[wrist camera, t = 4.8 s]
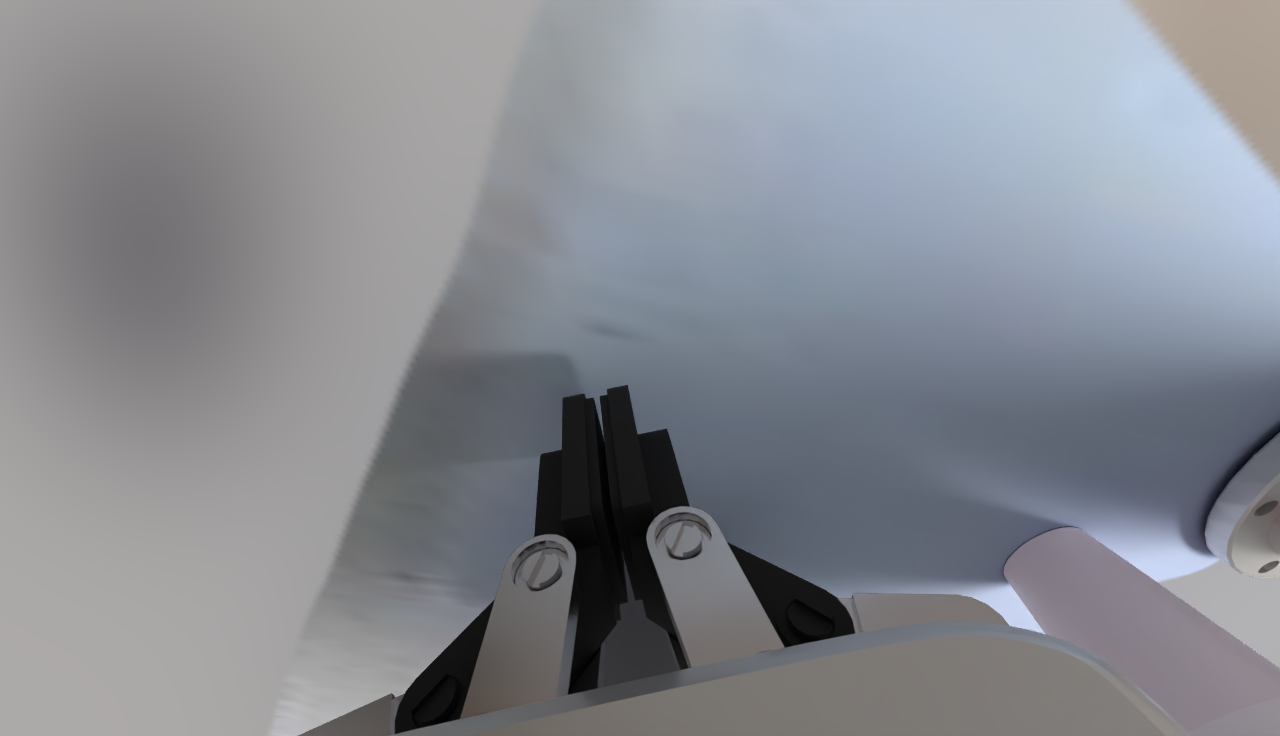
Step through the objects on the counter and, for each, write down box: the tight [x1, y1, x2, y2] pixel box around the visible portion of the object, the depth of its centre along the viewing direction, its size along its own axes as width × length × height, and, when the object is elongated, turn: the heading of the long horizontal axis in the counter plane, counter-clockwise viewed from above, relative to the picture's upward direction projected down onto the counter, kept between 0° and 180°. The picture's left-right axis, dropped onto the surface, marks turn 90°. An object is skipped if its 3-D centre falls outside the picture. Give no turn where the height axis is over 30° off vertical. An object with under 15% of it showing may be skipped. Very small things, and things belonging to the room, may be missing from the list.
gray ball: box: [604, 564, 678, 687], centre depth 15 cm, size 6×6×6 cm
